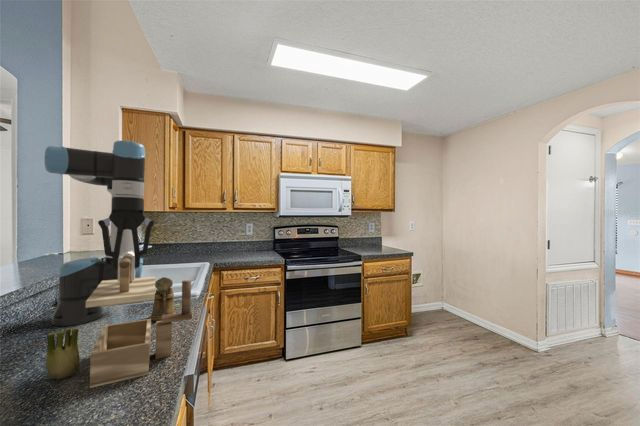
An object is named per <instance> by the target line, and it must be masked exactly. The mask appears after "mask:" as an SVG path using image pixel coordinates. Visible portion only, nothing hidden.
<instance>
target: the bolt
mask: <svg viewBox="0 0 640 426" xmlns="http://www.w3.org/2000/svg"><path fill="white" fill-rule="evenodd" d="M191 297H192V280H190V279H186V280H185V279H184V280H182V281H181V312H177V313H176V312H175V313H174V314H167V315H162V324H163V323H169V322H172V323H173V322H175V323H176V322H180V321H187V320H191V319H192V318H193V313H192V311H191V308H192V307H191V302H192V300H191V299H192V298H191Z"/></svg>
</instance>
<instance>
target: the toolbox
mask: <svg viewBox="0 0 640 426" xmlns="http://www.w3.org/2000/svg"><path fill="white" fill-rule="evenodd" d="M155 322H156V323H155V359H156V360H158V359H162V358H166V357H167V358H168V357H172V338H173V337H172V335H173V334H172V333H173V331H172V330H173V328H172V327H173V322H169V323H163V324H162V321H155ZM151 328H152V320H151V318H147V319H139V320H131V321H126V322H119V323H118V322H117V323H111V324H104V326H103V328H102V330H101V332H100V334H99V336H98V339H97V340H96V343H95V345H94V346H93V349H92V351H91V353H90V363H89V365H90V368H89V388H90V389H91V388H95V387H100V386H105V385H108V384H114V383H118V382H122V381H126V380H130V379H134V378H135V379H136V378H138V377H144V376H148V375H149V371H150V358H151V357H150V356H151V355H150V354H151V335H152V333H151V332H152V329H151Z"/></svg>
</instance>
